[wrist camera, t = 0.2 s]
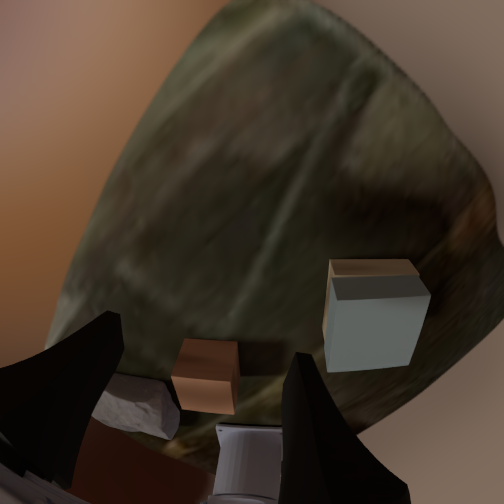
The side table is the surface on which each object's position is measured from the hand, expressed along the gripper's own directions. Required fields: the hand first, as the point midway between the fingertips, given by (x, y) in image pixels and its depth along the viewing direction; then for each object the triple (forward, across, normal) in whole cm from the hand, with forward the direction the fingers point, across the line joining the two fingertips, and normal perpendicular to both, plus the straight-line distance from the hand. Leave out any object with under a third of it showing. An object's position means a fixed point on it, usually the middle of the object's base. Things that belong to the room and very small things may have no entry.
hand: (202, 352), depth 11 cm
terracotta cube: (+10, 0, +11) cm, 15 cm away
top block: (+8, -10, +2) cm, 13 cm away
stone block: (+11, +9, +22) cm, 26 cm away
